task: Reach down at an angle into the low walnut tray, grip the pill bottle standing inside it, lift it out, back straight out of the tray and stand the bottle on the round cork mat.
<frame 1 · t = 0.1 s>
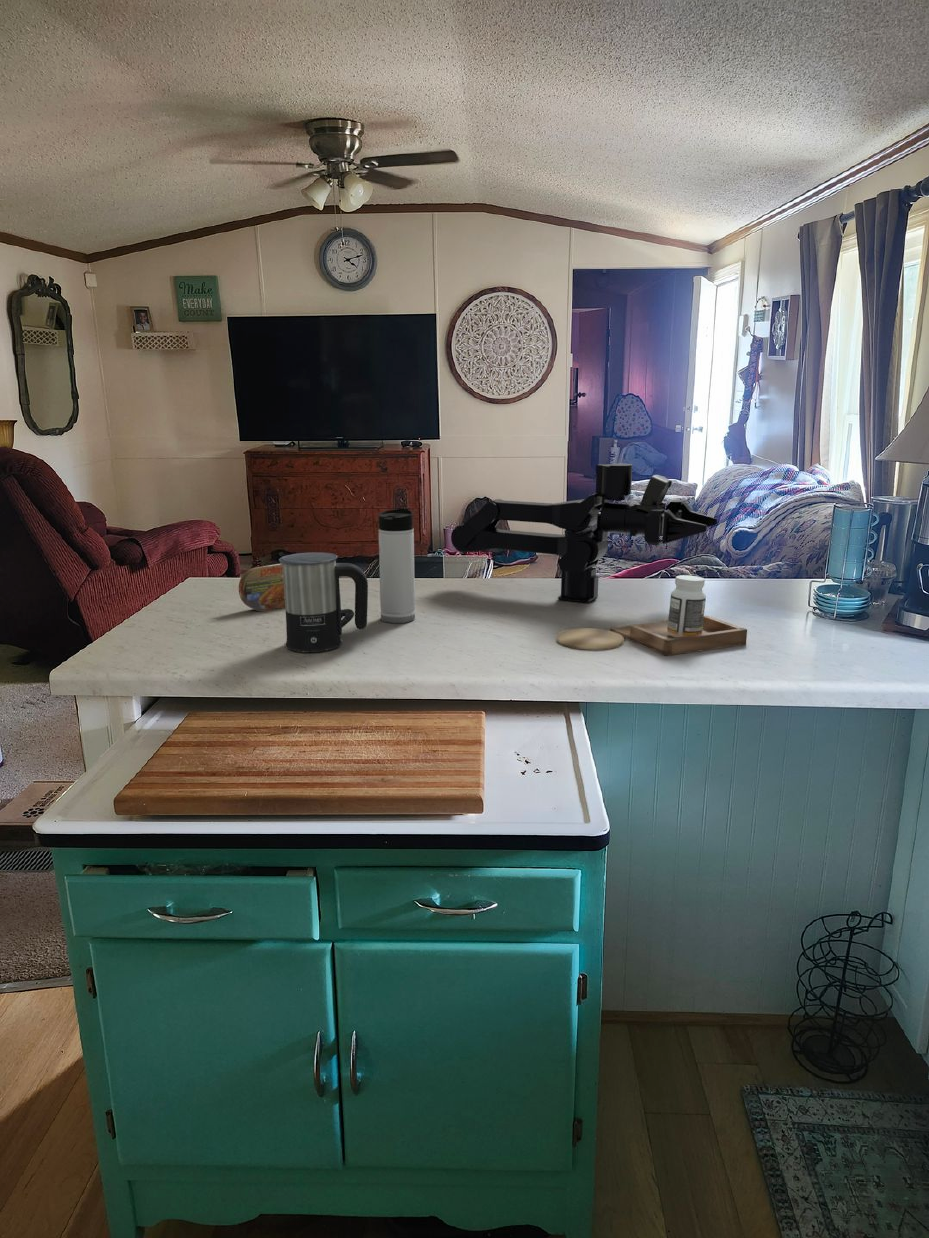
hand: (712, 524, 160), 17 cm above the table, tool horizontal, fingers open, 9 cm apart
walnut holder: (683, 640, 146), on the table
travel mug: (398, 620, 160), on the table
cork mat: (590, 640, 146), on the table
milk frother: (321, 640, 148), on the table
tin: (277, 607, 170), on the table
pill bottle: (683, 637, 146), point 1 cm above the table, touching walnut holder
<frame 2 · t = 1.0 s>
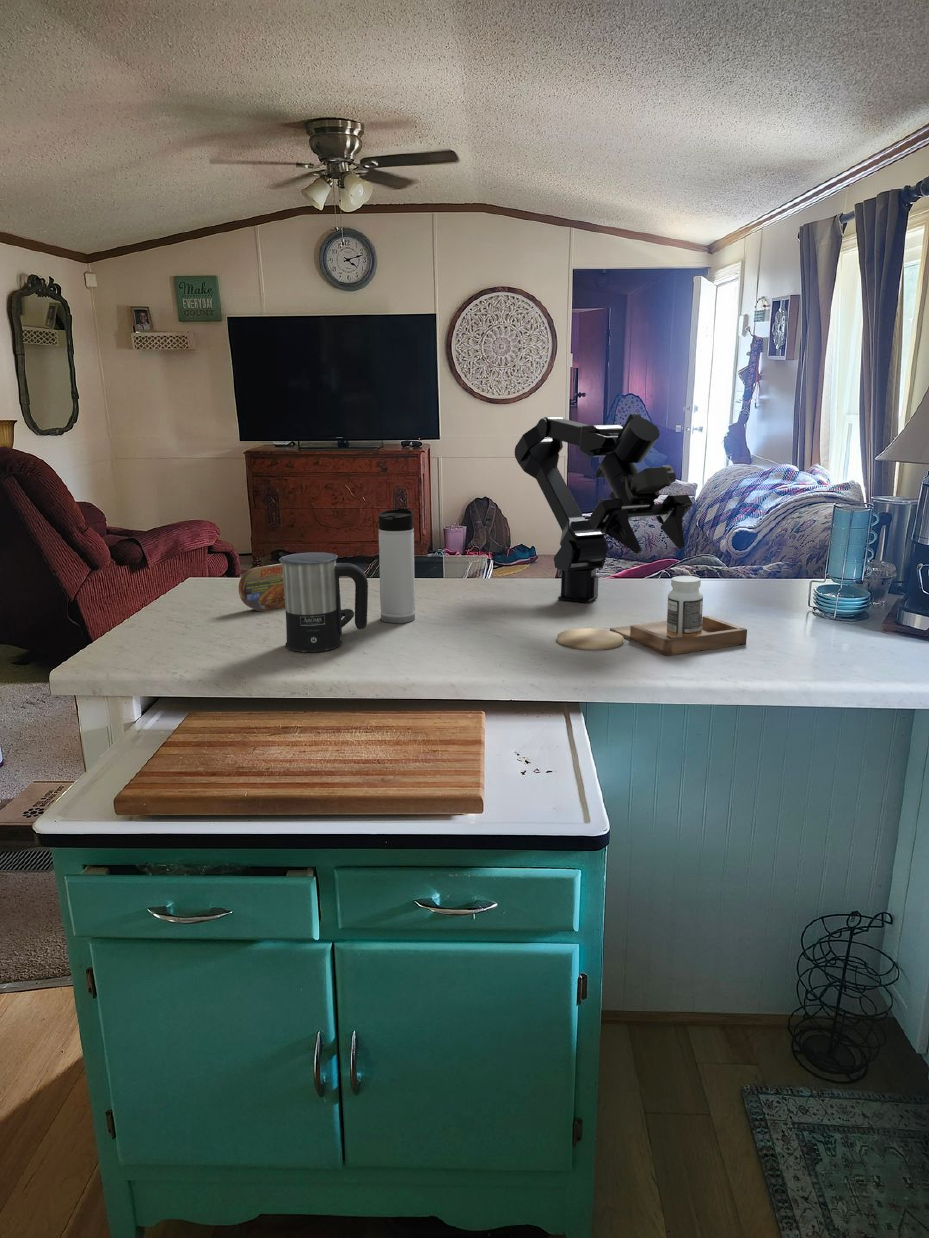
hand: (660, 550, 150), 14 cm above the table, tool tilted 45°, fingers open, 9 cm apart
nothing on the table moved.
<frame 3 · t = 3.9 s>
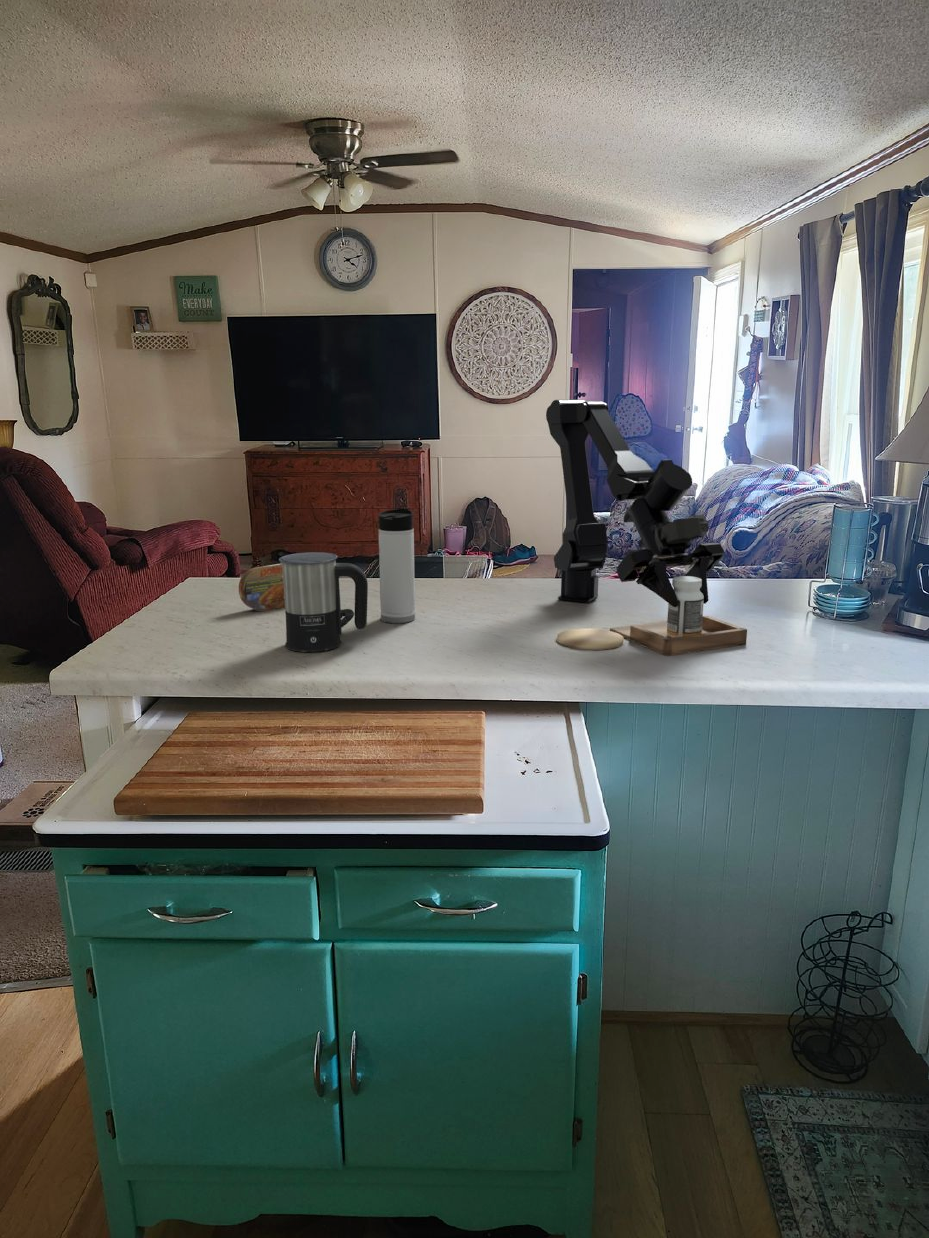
hand: (691, 604, 143), 7 cm above the table, tool tilted 45°, fingers closed on pill bottle, 6 cm apart
pill bottle: (683, 638, 146), resting on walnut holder, touching gripper
everything else where it was.
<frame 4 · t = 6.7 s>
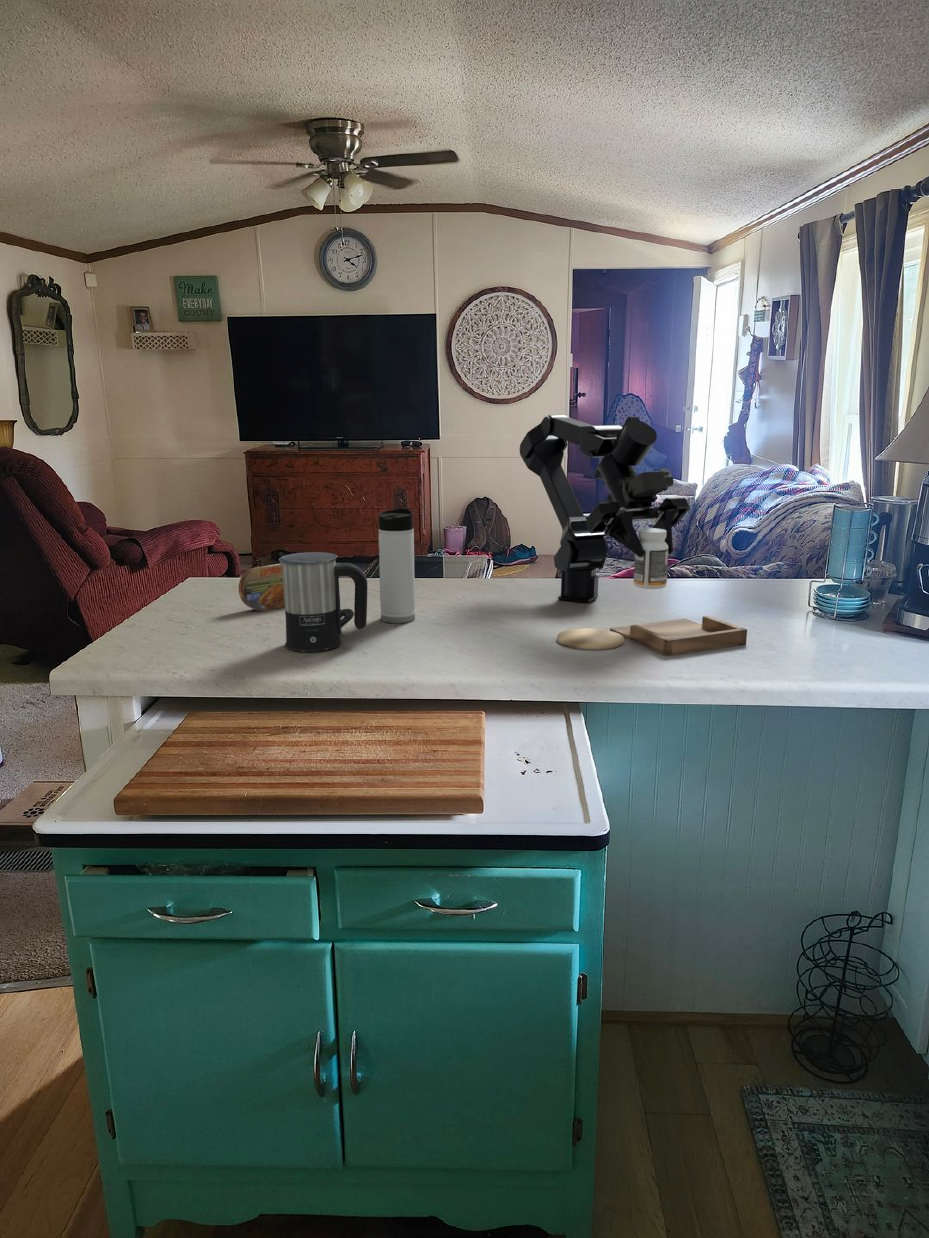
hand: (656, 554, 150), 13 cm above the table, tool tilted 45°, fingers closed on pill bottle, 6 cm apart
pill bottle: (649, 587, 153), point 7 cm above the table, touching gripper
everything else where it was.
when the fingers open (8 cm above the table, at t = 9.6 s): pill bottle drops 2 cm, resting on cork mat.
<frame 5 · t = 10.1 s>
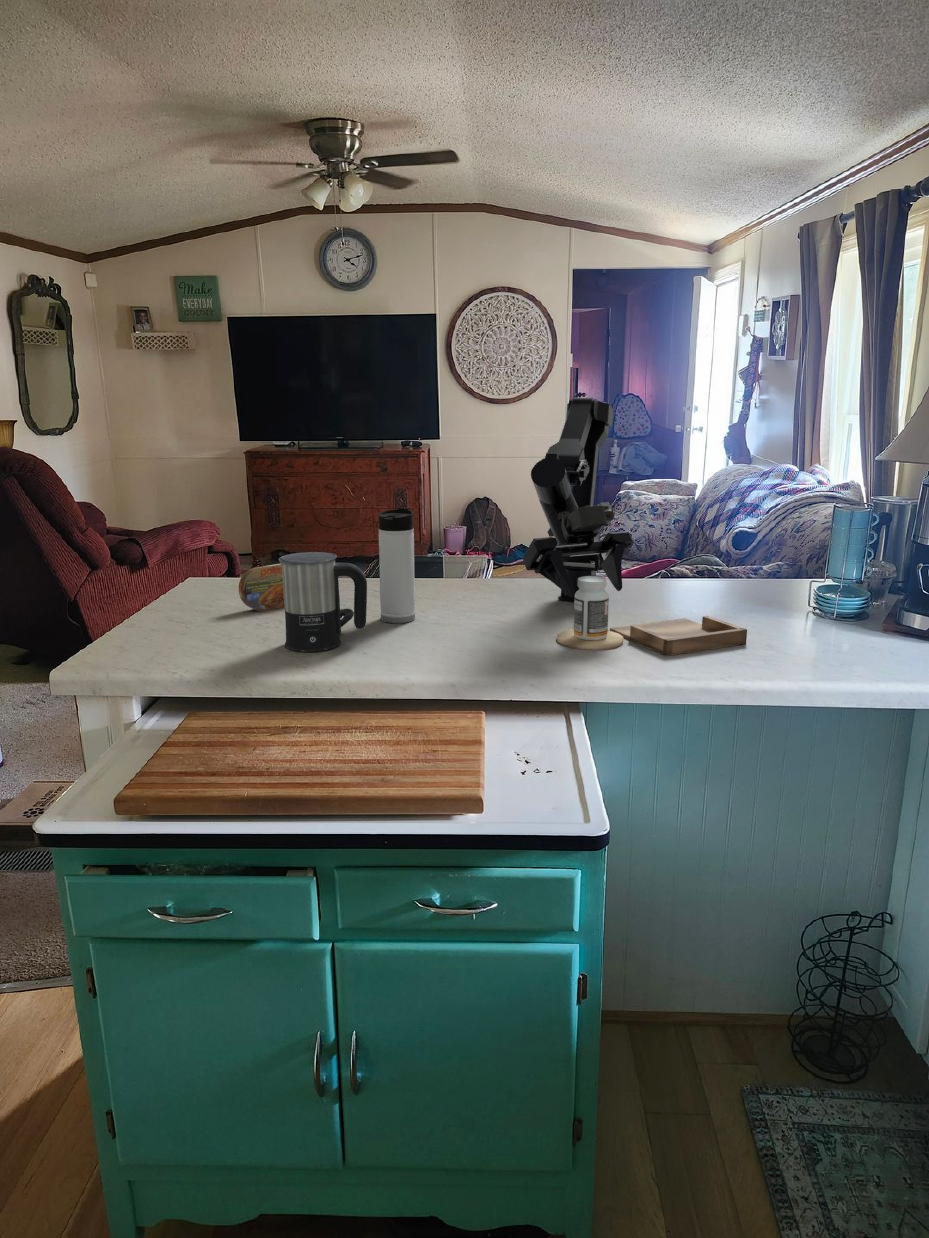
hand: (596, 592, 143), 9 cm above the table, tool tilted 45°, fingers open, 9 cm apart
pill bottle: (590, 637, 147), resting on cork mat
everything else where it was.
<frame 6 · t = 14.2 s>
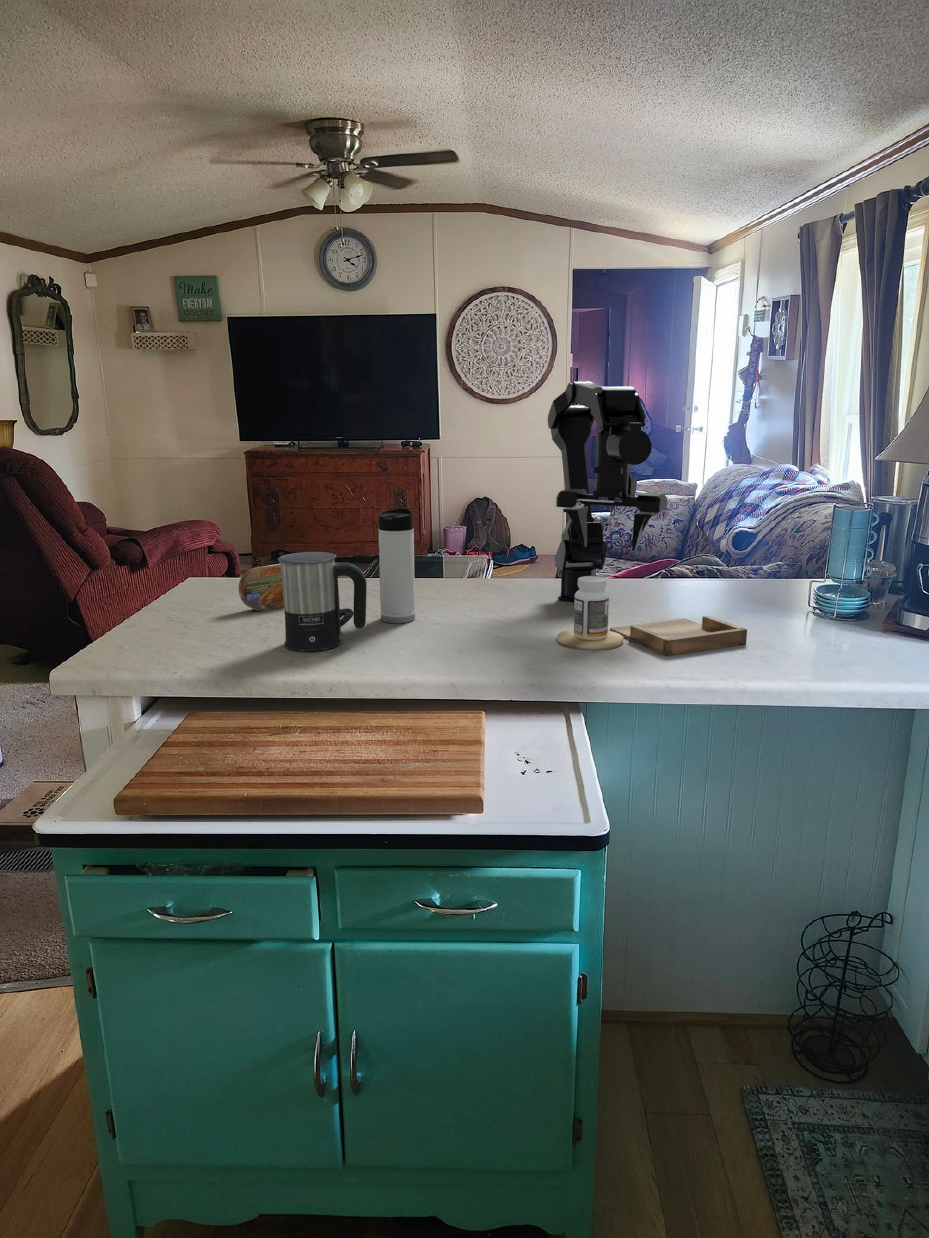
hand: (609, 548, 157), 13 cm above the table, tool pointing down, fingers open, 9 cm apart
nothing on the table moved.
at the end: pill bottle inside the target area on the cork mat (0.2 cm from its centre), point 0.4 cm above the cork mat's base; pill bottle tilted 0°; the gripper is holding nothing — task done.
